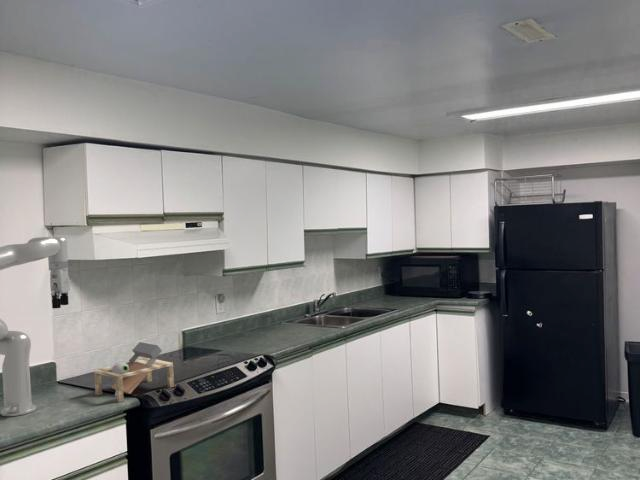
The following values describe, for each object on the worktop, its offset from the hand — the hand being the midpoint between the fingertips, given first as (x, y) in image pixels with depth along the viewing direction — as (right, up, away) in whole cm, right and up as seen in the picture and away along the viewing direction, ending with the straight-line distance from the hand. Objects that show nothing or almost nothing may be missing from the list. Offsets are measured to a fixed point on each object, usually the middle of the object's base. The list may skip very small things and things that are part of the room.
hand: (60, 306), depth 249 cm
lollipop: (+24, -37, -3) cm, 45 cm away
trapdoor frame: (+30, -37, +5) cm, 48 cm away
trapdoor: (+31, -29, +7) cm, 43 cm away
